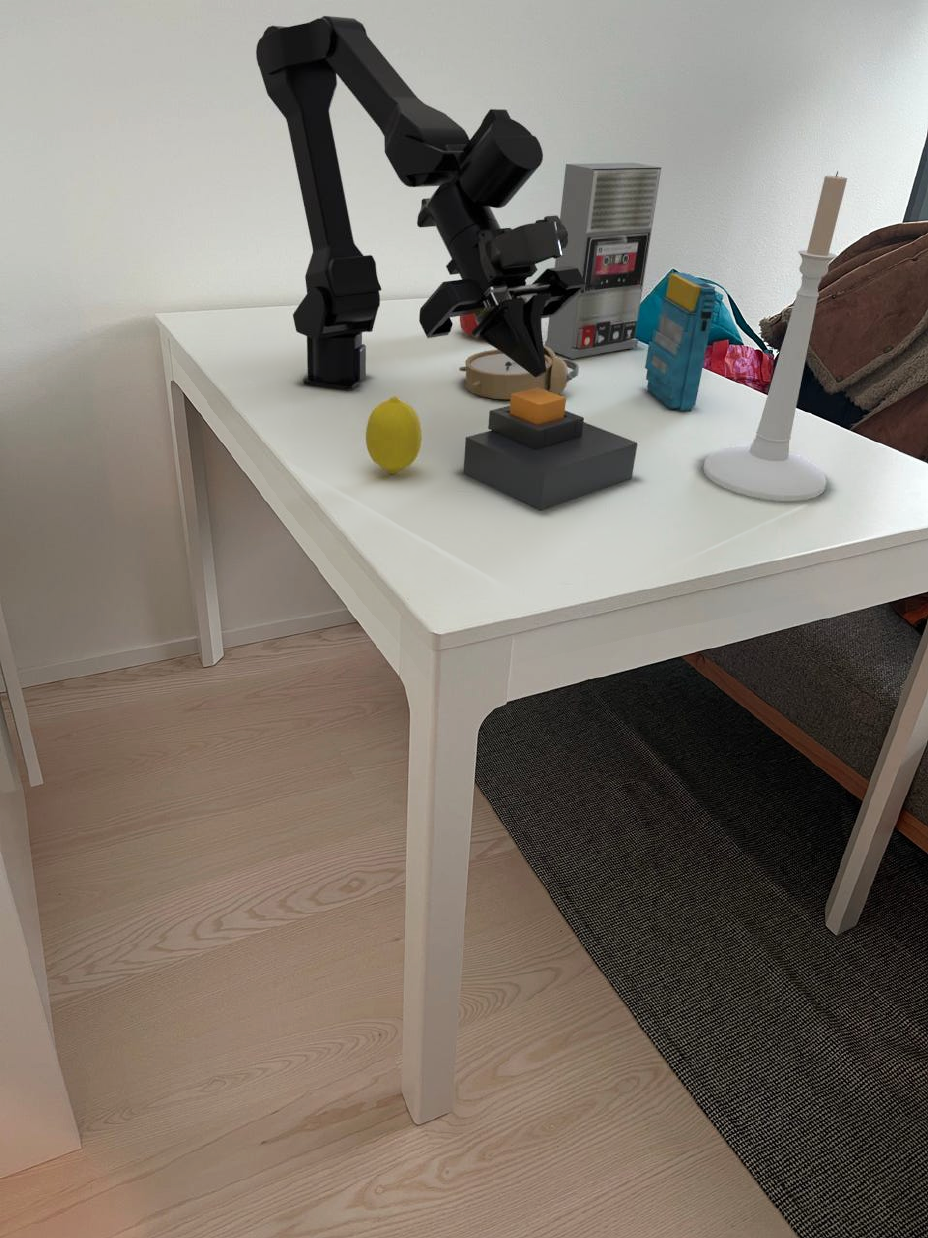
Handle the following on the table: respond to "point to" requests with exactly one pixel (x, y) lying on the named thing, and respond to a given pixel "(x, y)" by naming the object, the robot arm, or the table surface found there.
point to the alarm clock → (514, 374)
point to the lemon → (393, 435)
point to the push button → (547, 458)
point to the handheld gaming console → (680, 342)
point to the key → (537, 405)
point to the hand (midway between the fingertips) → (541, 374)
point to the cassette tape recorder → (604, 255)
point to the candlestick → (785, 385)
